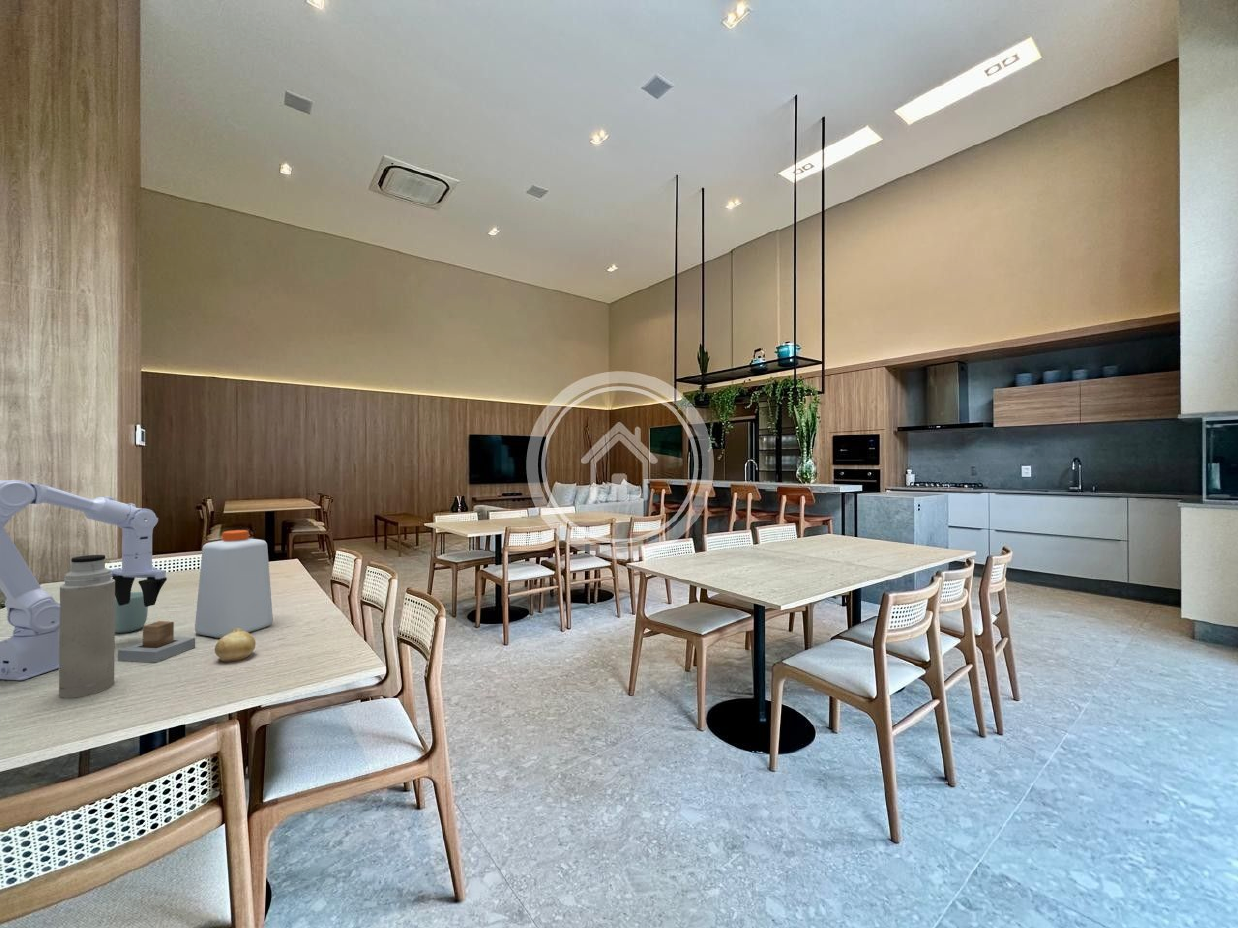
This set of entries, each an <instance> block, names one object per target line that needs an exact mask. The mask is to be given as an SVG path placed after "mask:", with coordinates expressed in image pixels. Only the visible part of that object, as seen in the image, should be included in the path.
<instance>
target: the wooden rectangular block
mask: <svg viewBox="0 0 1238 928" xmlns="http://www.w3.org/2000/svg"><path fill="white" fill-rule="evenodd" d="M174 626H175V622H174V621H167V620H166V621H164V620H159V621H155V622H152V623H149V624H144V626H143V627H142V642H143V648H159V647H162V646H165V645H167V644H170V643H173V642H174V637H175V634H174V633H175V632H174V631H175V627H174Z"/></svg>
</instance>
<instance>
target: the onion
mask: <svg viewBox="0 0 1238 928" xmlns="http://www.w3.org/2000/svg"><path fill="white" fill-rule="evenodd" d="M230 629H231V628H230ZM231 630H233V629H231ZM256 643H257V642H256V639H255V637H254V636H253V635H252V634H251V633H250V632H245V631H242V629H240V628H236V629H234V630H233V632H232V633H230V634H227V635H225V636H224V637H222V638H219V640H217V642H216V644H215V645H214V653H215V655H216V656H217V657H218V658H219V660H220V661H222V662H225V663H227V662H228V663H230V662H236V661H240V660H244V659H246V658H248V657H249V655H251V654H252V653H253V652H254V650H255V648H256V645H257V644H256Z"/></svg>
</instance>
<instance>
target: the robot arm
mask: <svg viewBox="0 0 1238 928" xmlns="http://www.w3.org/2000/svg"><path fill="white" fill-rule="evenodd" d="M43 503H44V504H48V505H53V506H58V507H60V508H61V507H62V508H67V509H70V510H71V509H72V510H75V511H80V512H83V514H84V516H85V517H86V518H87V519H89V520H91V521H92V520H93V521H97V522H101V523H105V524H110V525H113V526H117V527H118V528H120V529H121V534H122V535H121V568H113V569H109V570H110V572H111V573H112V574H110V578H111V579H114V580H115V597H116V599H117V602H118V605H119V606H121V605H125V604H129V602H130V596H131V592H132V586H133V584H134V581H135V579H139V578H141V579H142V580H138V584H139V586H140V588H141V592H143V599H144V606H145V607H148V608H149V607H152V606H155V605H156V602H157V599H158V596H159V595H160V594H159V593H160V591H161V590H162V588H163V586H164V585H165V583H166V582H167V579H168V578H167V577H166V575H167V574H166V572H167V571H166V570H165V569H157V568H156V566H153V533H154V531H153V530H154V527H155V526H156V525H157V524H158V522H159V517H157V515H156V513H155V512H154V510H152V509H150V508H141V507H136V503H135V504H134V503H125V502H121V501H118V500H115V497H113V496H109V495H105V497H103V496H99V497H95V498H92V499H90V498H87V497H84V496H80V495H77V494H74V493H71V492H67V491H66V490H65V491H64V490H62V489H58V488H56V487H51V486H49V485H44V484H40V483H33V482H26V481H23V480H21V479H11V480H7V479H6V480H4V479H3V480H1V479H0V590H1V592H2V593H3V595H4V597H5V598H6V599H5V602H4V607H5V608H6V610H7V613H6V620H7V622H8V624H10V626H12V627H14V628H13V630H12V636H10V637H9V638H6V639H3V640H2V641H0V680H6V681H7V680H8V681H9V680H10V681H24V680H27V679H30V678H33V677H36V676H40V675H42V674H45V673H48V672H51V671H54V670H57V669H59V625H60V602H57V601H56V600H55V598H54V597H53V596H52V595H51V594H50V593H49V592H47V591H45V589H44V588H42V587H41V585H40V583H39V582H38V581H37V579H36V577H35V576H34V574H33V572H32V571H31V569H30V567H29V566H28V564H27V563H26V561H25V559H24V557H23V556H22V554H21V553H20V551H19V549H18V548H17V546H16V545H15V543H14V541H13V540H12V538H11V536H10V535H9V533H8V531H7V530H6V528H5V526H7V525H6V524H8V522H10V520H11V519H12V517H13V516H15V515H16V514H17V513H19V512H21V511H22V510H23V509H25V508H26V507H28V506H29V505H30V504H31V505H38V504H43Z"/></svg>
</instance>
